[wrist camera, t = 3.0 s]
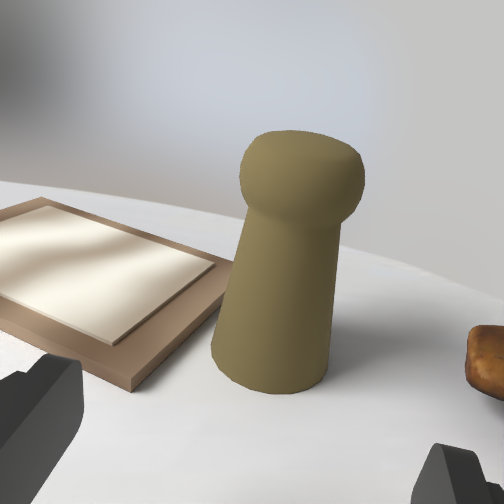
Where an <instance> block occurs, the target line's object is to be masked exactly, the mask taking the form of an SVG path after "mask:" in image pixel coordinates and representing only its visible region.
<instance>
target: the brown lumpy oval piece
mask: <svg viewBox="0 0 504 504" xmlns="http://www.w3.org/2000/svg"><path fill="white" fill-rule="evenodd" d="M465 373H466V380H467V381H468V383H469V384H470V385H471V386H472V387H473V388H475V389H476V390H478V391H480V392H482V393H484V394H486V395H489V396H491V397H493V398H496V399H498V400H501V401H504V326H496V325H479V326H476V327H474V328H472V329H471V331H470V332H469V336H468V340H467V355H466V362H465Z"/></svg>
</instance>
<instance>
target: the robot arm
mask: <svg viewBox="0 0 504 504" xmlns="http://www.w3.org/2000/svg"><path fill="white" fill-rule="evenodd" d="M83 413H84V396H83V376H82V364H81V362H80V361H79V360H76V359H71V358H67V357H62V356H58V355H54V354H49V353H48V354H45V355H43V356H42V357H41V358H40V359H39V360H38V361H37V362H36V363H35V364H34V365H33V366H32V367H31V368H30V369H29V370H28V372H27V373H25V372H20V371H16V372H14V373H12V374H11V375H9V376H7V377H5V378H3V379H2V380H0V504H31V502H32V501H33V499H34V498H35V496H36V494H37V493H38V491H39V490H40V488H41V487H42V485H43V484H44V482H45V481H46V479H47V478H48V476H49V475H50V473H51V472H52V470H53V469H54V467H55V466H56V464H57V463H58V461H59V460H60V458H61V457H62V455H63V454H64V452H65V451H66V449H67V448H68V446H69V445H70V443H71V441H72V440H73V438H74V437H75V435H76V433H77V432H78V429H79V427H80V425H81V422H82V418H83ZM411 504H504V490H503V489H502V488H501V486H500V485H499V484H495V483H491V482H486V480H485V477H484V474H483V471H482V468H481V465H480V462H479V460H478V457H477V455H476V454H475V453H474V452H473V451H470V450H466V449H461V448H457V447H452V446H448V445H444V444H439V443H435V444H434V445H433V446H432V448H431V450H430V452H429V454H428V457H427V459H426V461H425V463H424V466H423V468H422V470H421V472H420V475H419V477H418V479H417V481H416V484H415V486H414V488H413V492H412V496H411Z"/></svg>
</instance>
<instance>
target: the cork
mask: <svg viewBox="0 0 504 504" xmlns="http://www.w3.org/2000/svg"><path fill="white" fill-rule="evenodd" d="M239 177H240V185H241V192H242V195H243V197H244V199H245V201H246V203H247V205H248V207H249V208H248V211H247V215H246V219H245V222H244V226H243V229H242V233H241V237H240V240H239V244H238V248H237V251H236V255H235V258H234V262H233V266H232V269H231V273H230V277H229V280H228V284H227V287H226V291H225V295H224V298H223V302H222V306H221V309H220V313H219V316H218V320H217V324H216V327H215V331H214V335H213V338H212V342H211V352H212V358H213V359H214V361H215V363H216V365H217V366H218V368H219V369H220V370H221V371H222V372H223V373H224V374H225V375H226V376H227V377H229V378H230V379H231V380H232V381H234V382H236V383H238V384H240V385H242V386H244V387H246V388H248V389H251V390H255V391H259V392H264V393H268V394H292V393H296V392H300V391H304V390H307V389H309V388H311V387H312V386H314V385H315V384H317V383H318V382H320V381H321V379H322V378H323V376H324V374H325V373H326V371H327V367H328V357H329V346H330V335H331V325H332V314H333V304H334V293H335V282H336V272H337V261H338V251H339V240H340V229H341V223H342V222H343V221H344V220H345V219H347V218H348V217H349V216H350V215H351V214H352V213H353V212H354V211H355V209H356V207H357V205H358V204H359V202H360V200H361V197H362V194H363V190H364V186H365V170H364V166H363V163H362V159H361V156H360V154H359V153H357V151H356V150H355V149H354V148H352V147H351V146H350V145H348V144H346V143H344V142H341V141H339V140H337V139H334V138H332V137H328V136H325V135H322V134H317V133H313V132H306V131H295V130H294V131H293V130H287V131H272V132H267V133H264V134H262V135H260V136H258V137H256V138H255V139H254V141H253V142H252V143H251V144H250V146H249V147H248V149H247V150H246V151H245V154H244V156H243V159H242V162H241V167H240V176H239Z"/></svg>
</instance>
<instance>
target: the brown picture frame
mask: <svg viewBox="0 0 504 504" xmlns="http://www.w3.org/2000/svg"><path fill="white" fill-rule="evenodd" d="M232 266H233V262H232V261H230V260H227V259H224V258H221V257H218V256H215V255H212V254H209V253H206V252H203V251H200V250H197V249H194V248H191V247H188V246H185V245H182V244H179V243H176V242H173V241H170V240H167V239H164V238H161V237H158V236H156V235H153V234H150V233H147V232H144V231H141V230H138V229H135V228H132V227H129V226H126V225H123V224H120V223H117V222H114V221H111V220H108V219H105V218H102V217H99V216H96V215H93V214H90V213H87V212H84V211H82V210H79V209H76V208H73V207H70V206H67V205H64V204H61V203H58V202H55V201H52V200H49V199H46V198H43V197H39V198H36V199H33V200H30V201H27V202H24V203H20V204H17V205H14V206H11V207H8V208H5V209H2V210H0V330H3V331H5V332H7V333H9V334H11V335H13V336H15V337H17V338H19V339H21V340H23V341H25V342H27V343H29V344H31V345H34V346H36V347H38V348H40V349H42V350H44V351H46V352H48V353H50V354H54V355H58V356H62V357H67V358H71V359H76V360H79V361H80V362H81V364H82V369H83V370H85V371H87V372H89V373H91V374H93V375H95V376H98V377H100V378H102V379H104V380H106V381H108V382H110V383H112V384H114V385H116V386H118V387H120V388H122V389H124V390H126V391H129V392H132V391H133V390H134V389H135V388H136V387H137V386H138V385H139V384H140V383H141V382H142V381H143V380H144V379H145V378H146V377H148V376H149V375H150V374H151V373H152V372H153V371H154V370H155V369H156V368H157V367H158V366H159V365H160V364H161V363H162V362H163V361H164V360H165V359H166V358H167V357H168V356H169V355H170V354H171V353H172V352H173V351H174V350H175V349H176V348H177V347H179V346H180V345H181V344H182V343H183V342H184V341H185V340H186V339H187V338H188V337H189V336H190V335H191V334H192V333H193V332H194V331H195V330H196V329H197V328H198V327H199V326H200V325H201V324H202V323H203V322H204V321H205V320H206V319H207V318H208V317H209V316H211V315H212V314H213V313H214V312H215V311H216V310H217V309H218V308H219V307H220V306H221V305H222V302H223V298H224V295H225V291H226V287H227V284H228V280H229V277H230V273H231V269H232Z"/></svg>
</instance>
